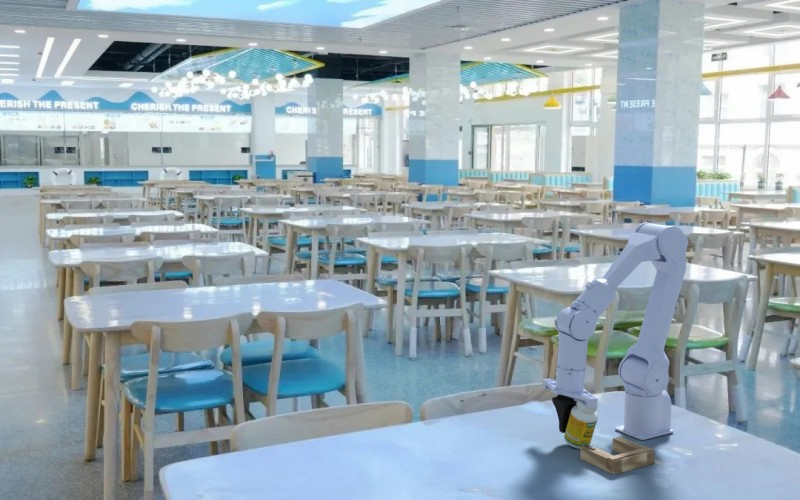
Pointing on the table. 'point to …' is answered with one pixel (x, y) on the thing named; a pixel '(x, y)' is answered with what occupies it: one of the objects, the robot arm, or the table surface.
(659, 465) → the table surface
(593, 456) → the hub cradle
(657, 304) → the robot arm
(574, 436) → the supplement bottle
